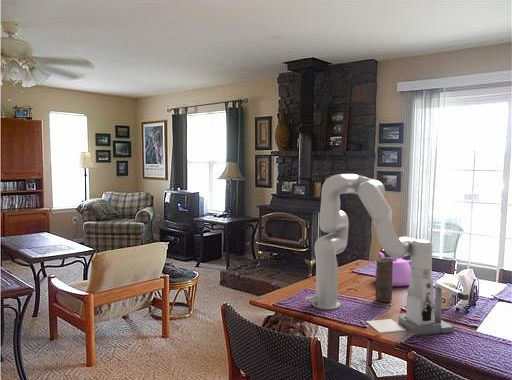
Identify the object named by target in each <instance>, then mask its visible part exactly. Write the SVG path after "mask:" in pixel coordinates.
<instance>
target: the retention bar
mask: <svg viewBox="0 0 512 380" xmlns="http://www.w3.org/2000/svg"><path fill="white" fill-rule="evenodd" d="M433 287H434V288H435V287H436V288H440V289H442V291H444V292H447V293H449V294H452V295H453V296H456V297H457V298H458V299H460V300H462V301H469V298H470V296H469V295H470V294H469V293H466V292H464V291H460V290H457V289H455V288H453V287H450V286H449V285H446V284H444V283H443V282H441V281H435V282H434V281H433Z"/></svg>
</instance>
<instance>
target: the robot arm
mask: <svg viewBox="0 0 512 380" xmlns="http://www.w3.org/2000/svg"><path fill="white" fill-rule="evenodd" d="M342 194H343V195H344V194H355V195H358V198H359V199H360V202H362V204H363V206H364V207H365V209H366V210H367V213H368V215H369V216H370V217H371V220H372V222H373V226H374V230H375V234H376V237H377V239H378V242H379V243H380V245H381V247H382V249H383V250H384V251H385V253H386V254H387V255H388V257H389V258H391V257H392V258H394V259H400V258H401V259H403V258H404V257H407V256H410V260H411V263H410V264H411V273H410V281H409V285H408V288H406V292H407V295H413V296H415V297H417V298H419V299H421V300H422V304H423V308H424V310H423V321H431V311H432V309H433V308H434V309H435V300H434V298H435V287H434V281H433V278H432V270H433V268H432V267H433V266H432V265H433V264H432V263H433V243H432V241H430V240H427V239H418V238H417V239H416V238H413V237H412V238H411V237H410V236H409V237H408V236H398V235H397V233H396V231H395V229H394V226H393V221H392V219H393V209H392V208H391V206H390V205H389V203H388V201H387V200H386V198H385V197H384V196H385V194H386V188H385V185H384V184H383V183H382V182H381V181H379V180H376V179H373V178H369V177H366V176H363V175H359V174H356V173H340V174H339V173H338V174H334V175H332V176H329V177H327V179H326V180H325V181H324V182H323V184H322V187H321V193H320V195H321V199H320V209H319V210H320V211H319V220H318V221H319V224H318V225H319V229H320V230H321V231H322V232H323V233H327V234H326V235H322V236H320V237H318V238H317V239H316V241H315V242H314V255H315V267H316V268H315V273H316V274H315V293H313V295H312V296H305V301H306V302H310V303H311V304H312V306H313V307H315V308H317V309H321V310H327V311H328V310H329V311H330V310H332V311H333V310H337V309H340V307H341V306H342V303H341V302H340V301H339V300H338V288H339V286H338V280H339V276H338V275H339V273H338V272H339V268H338V267H339V266H338V260H337V256H336V255H338V254H341V253H343V252H344V251H345V250H346V248H347V245H348V238H349V237H348V235H349V227H350V226H349V225H350V223H349V221H350V220H349V217H348V215H347V213H346V212H345V211H343V210H341V196H340V195H342ZM426 299H428V302H425V301H426ZM425 304H428V306H427V307H426V305H425Z"/></svg>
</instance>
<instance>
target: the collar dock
mask: <svg viewBox="0 0 512 380" xmlns="http://www.w3.org/2000/svg"><path fill="white" fill-rule="evenodd" d="M434 298H435V300H434V302H435V306H434V324H431V325H420V326H415V325H414V324H412V323H411V322H409V321H408V320H406V315H399V316H398V324H399V325H400V326H402V327H403V328H404V329H406V331H408V332H409V333H411V334H413V335H414V336H415V335H416V336H418V335H428V334H439V333H441V334H445V333H454V330H455V329H454V326H453V325H451V324H449V323H447V322H446V321H444V320H442V307H443V306H442V305H443V304H442V303H443V302H442V301H443V300H442V299H443V290H442V289H440V288H436V287H434Z"/></svg>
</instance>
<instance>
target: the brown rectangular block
mask: <svg viewBox="0 0 512 380" xmlns="http://www.w3.org/2000/svg"><path fill="white" fill-rule="evenodd" d="M376 268H377V269H376ZM376 268H375V272H376V277H375V299H376V300H377V302H391V301H392V300H393V287H392V273H393V259H391V257H385V258H381V257H379V258H376Z"/></svg>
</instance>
